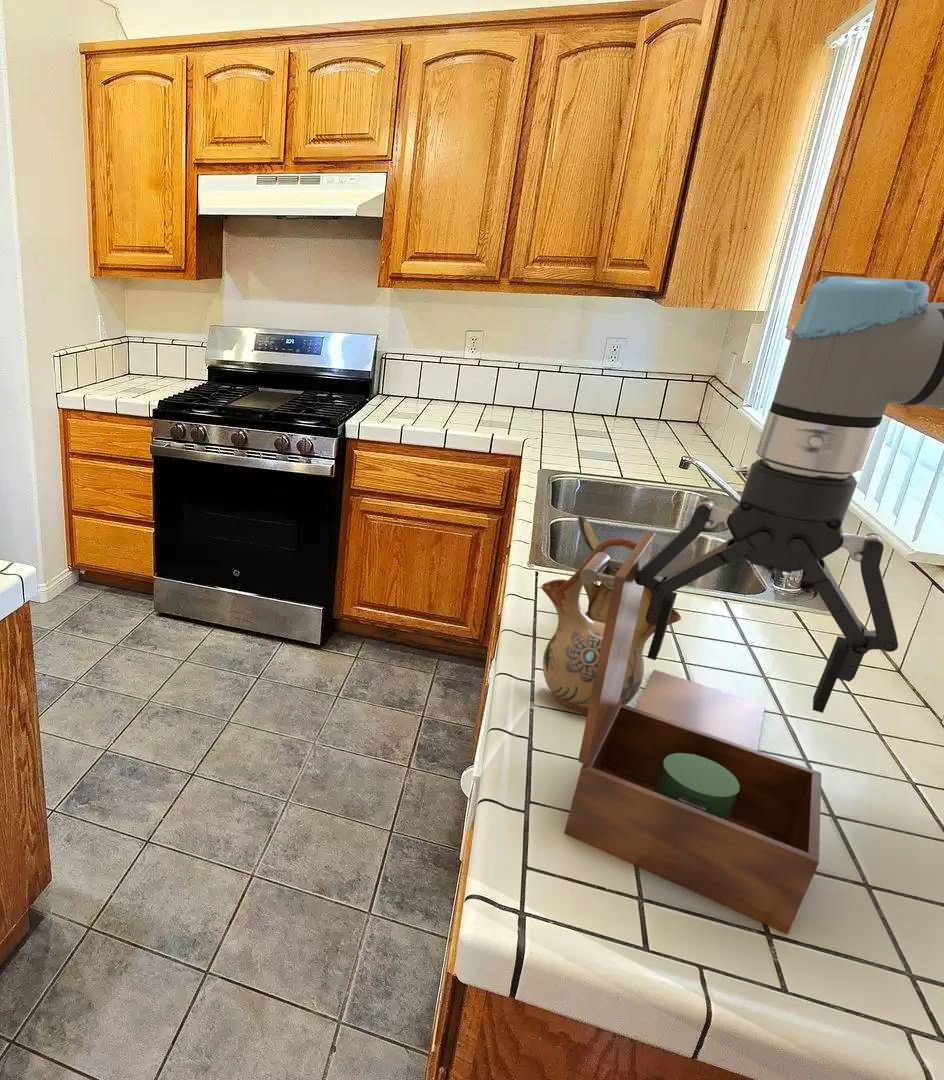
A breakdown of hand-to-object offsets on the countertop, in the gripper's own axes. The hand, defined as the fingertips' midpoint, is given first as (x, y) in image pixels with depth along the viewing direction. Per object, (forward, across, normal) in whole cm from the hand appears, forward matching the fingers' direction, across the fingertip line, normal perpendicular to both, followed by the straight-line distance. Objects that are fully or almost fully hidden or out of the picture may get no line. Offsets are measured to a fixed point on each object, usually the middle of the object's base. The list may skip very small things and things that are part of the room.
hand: (731, 678), depth 73 cm
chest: (+20, 0, 0) cm, 20 cm away
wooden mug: (+20, -18, +48) cm, 55 cm away
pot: (+19, 0, 0) cm, 19 cm away
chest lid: (0, -10, 0) cm, 10 cm away
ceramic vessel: (+20, -14, +20) cm, 32 cm away
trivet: (+20, -1, +30) cm, 36 cm away
